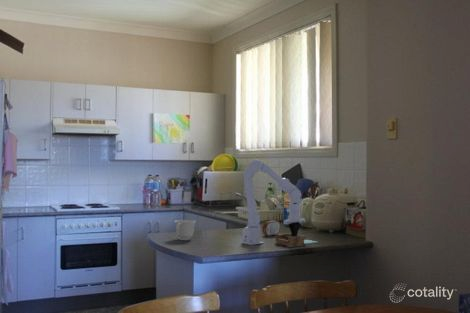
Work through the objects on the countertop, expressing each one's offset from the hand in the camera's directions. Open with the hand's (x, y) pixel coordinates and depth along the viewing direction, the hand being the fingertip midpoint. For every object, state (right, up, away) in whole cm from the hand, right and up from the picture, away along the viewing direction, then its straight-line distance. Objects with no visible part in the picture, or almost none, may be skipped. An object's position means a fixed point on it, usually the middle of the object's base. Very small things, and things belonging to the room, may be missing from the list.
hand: (294, 236), depth 268 cm
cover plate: (+6, -5, +5) cm, 9 cm away
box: (-2, -4, -2) cm, 5 cm away
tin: (-10, -4, +31) cm, 32 cm away
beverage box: (+8, -4, +77) cm, 78 cm away
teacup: (-59, -3, +9) cm, 60 cm away
